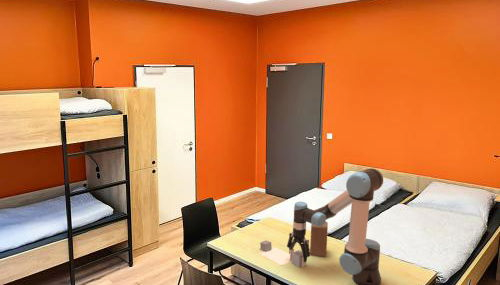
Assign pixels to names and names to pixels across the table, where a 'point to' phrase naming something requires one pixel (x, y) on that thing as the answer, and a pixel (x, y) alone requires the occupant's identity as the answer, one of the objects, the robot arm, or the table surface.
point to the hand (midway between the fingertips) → (297, 262)
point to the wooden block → (318, 240)
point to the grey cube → (265, 246)
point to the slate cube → (297, 258)
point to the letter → (277, 256)
